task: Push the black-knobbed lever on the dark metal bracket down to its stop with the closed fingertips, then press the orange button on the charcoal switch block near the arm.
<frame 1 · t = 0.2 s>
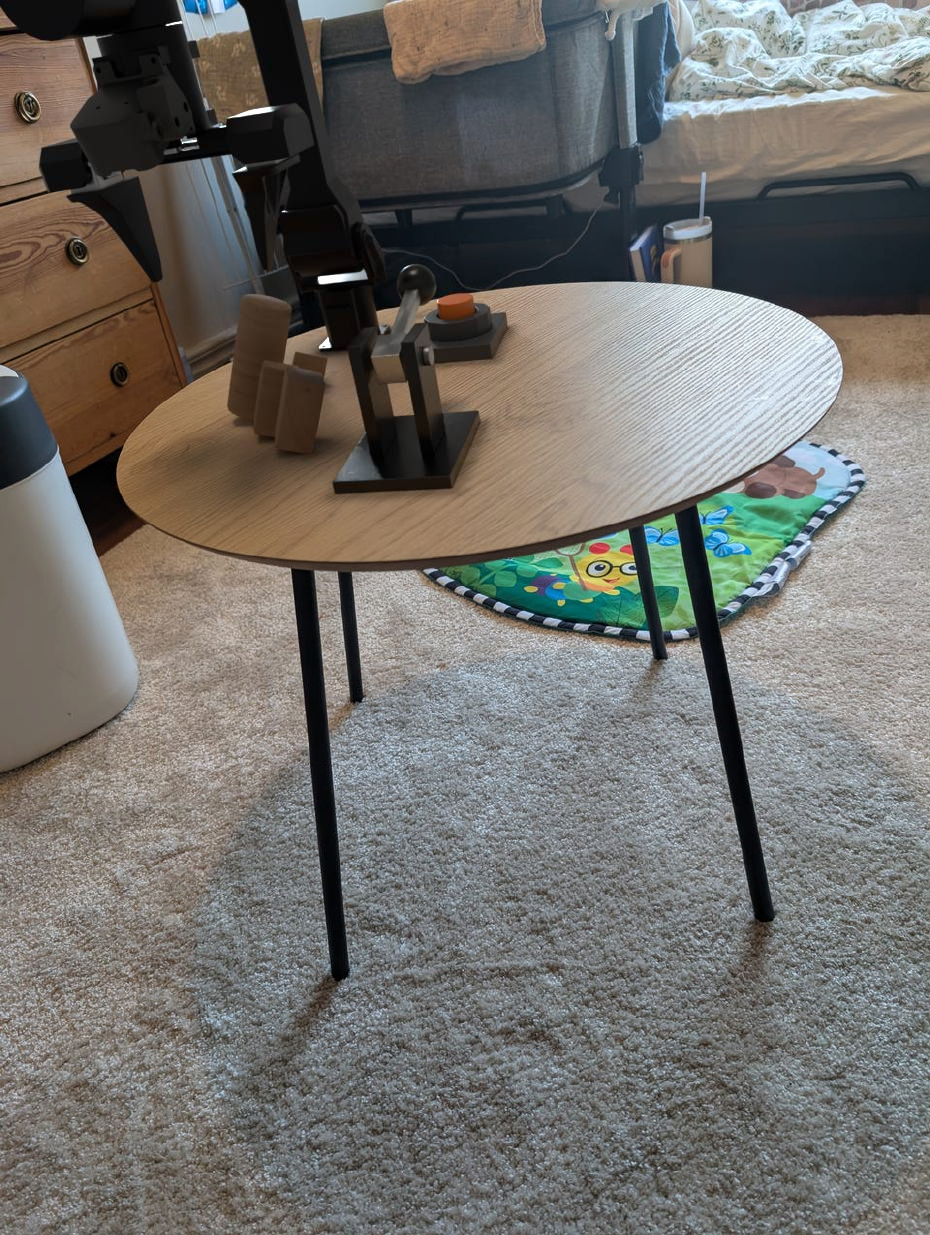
hand: (212, 275, 68), 15 cm above the table, tool pointing down, fingers open, 9 cm apart
button: (456, 307, 89), point 4 cm above the table, slide at 0.1 cm
bracket: (411, 458, 70), on the table
wooden block set: (287, 424, 81), on the table
lever: (405, 319, 69), point 9 cm above the table, hinge at 15.0°
switch block: (462, 347, 91), on the table
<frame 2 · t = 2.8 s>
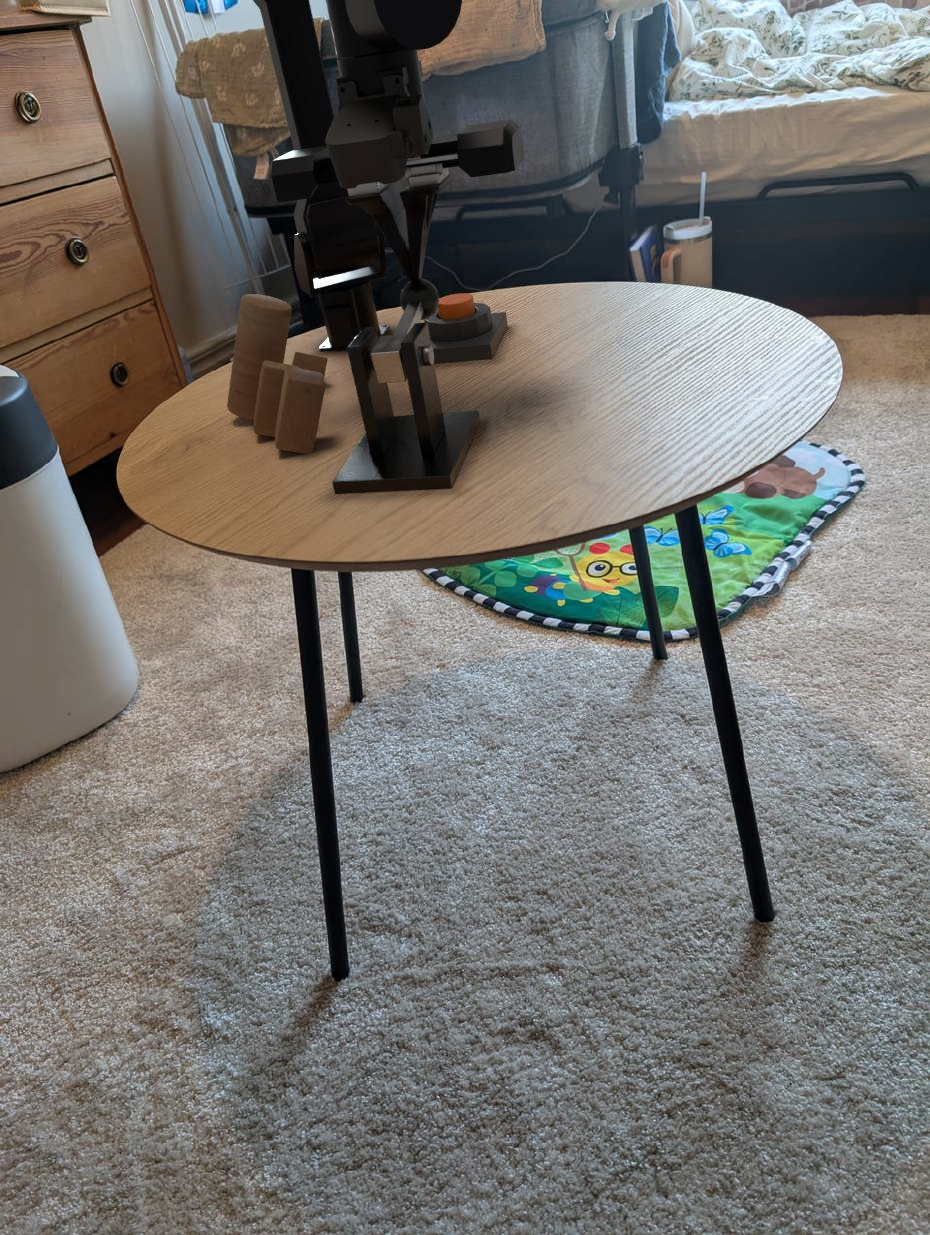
hand: (415, 279, 72), 11 cm above the table, tool pointing down, fingers closed
lever: (406, 327, 70), point 9 cm above the table, hinge at 8.1°, touching gripper
everything else where it was.
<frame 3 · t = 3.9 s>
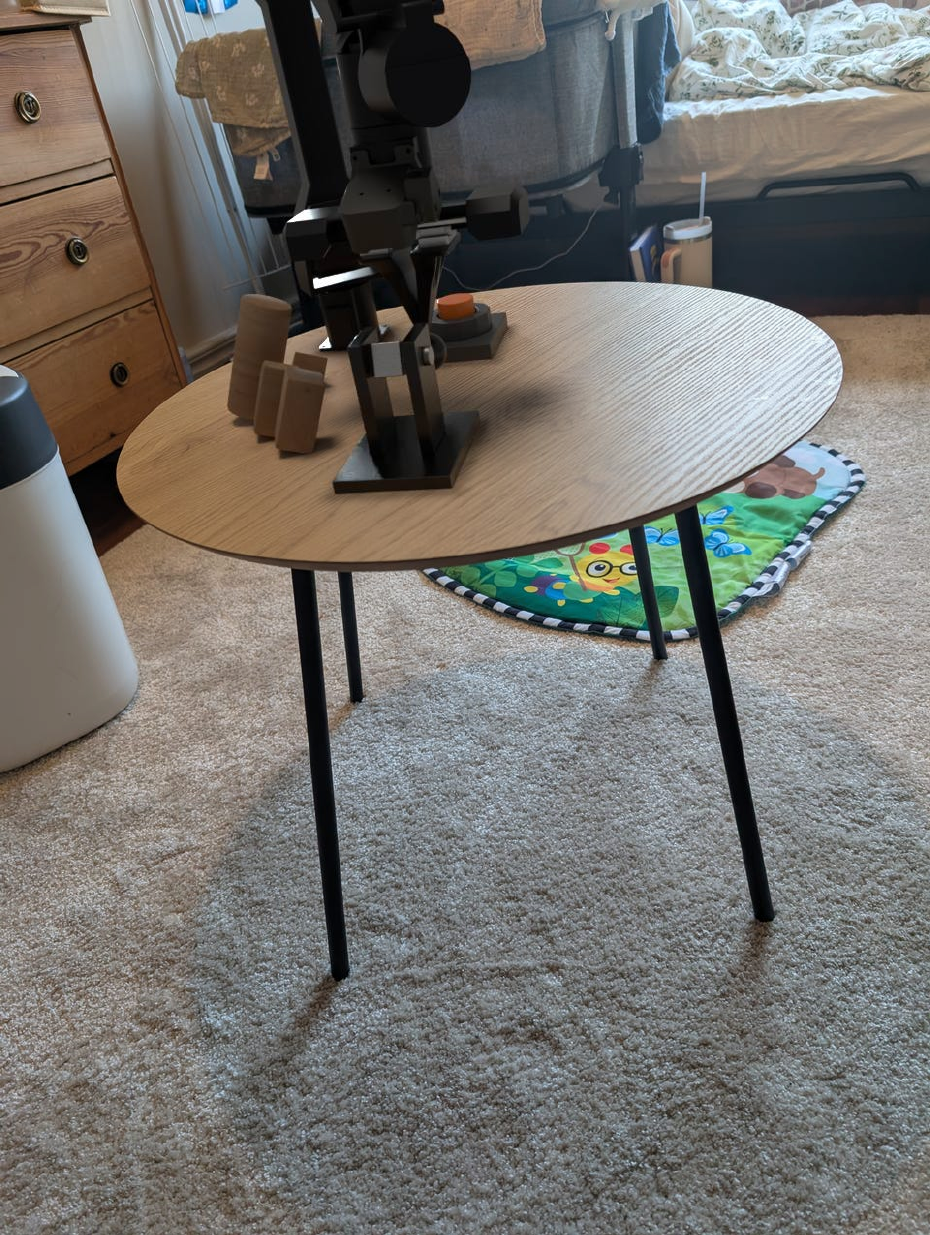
hand: (424, 333, 74), 7 cm above the table, tool pointing down, fingers closed, pressing on lever
lever: (411, 355, 71), point 7 cm above the table, hinge at -16.8°, touching gripper
everything else where it was.
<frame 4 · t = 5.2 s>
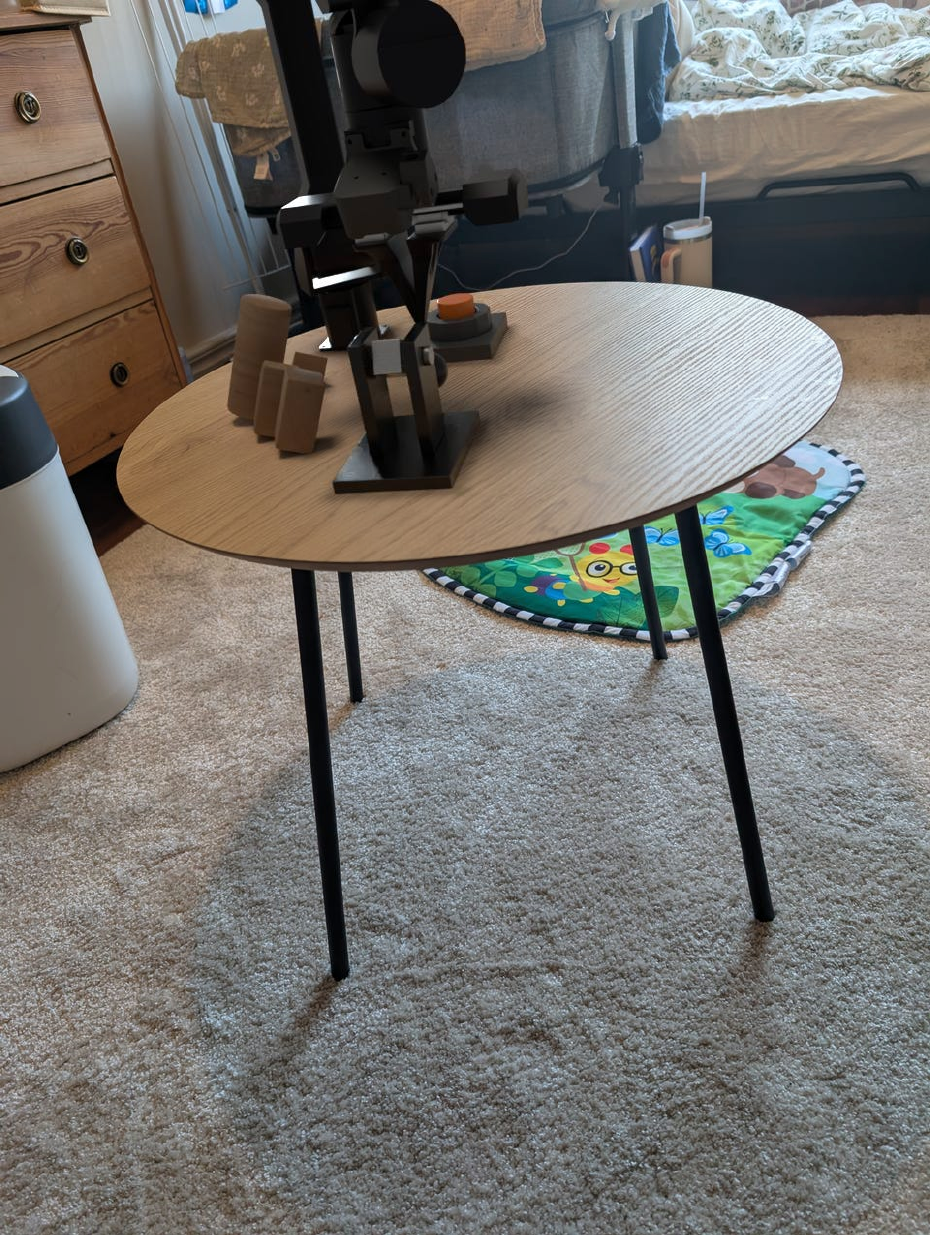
hand: (421, 322, 73), 8 cm above the table, tool pointing down, fingers closed
lever: (412, 365, 71), point 6 cm above the table, hinge at -25.5°
everything else where it was.
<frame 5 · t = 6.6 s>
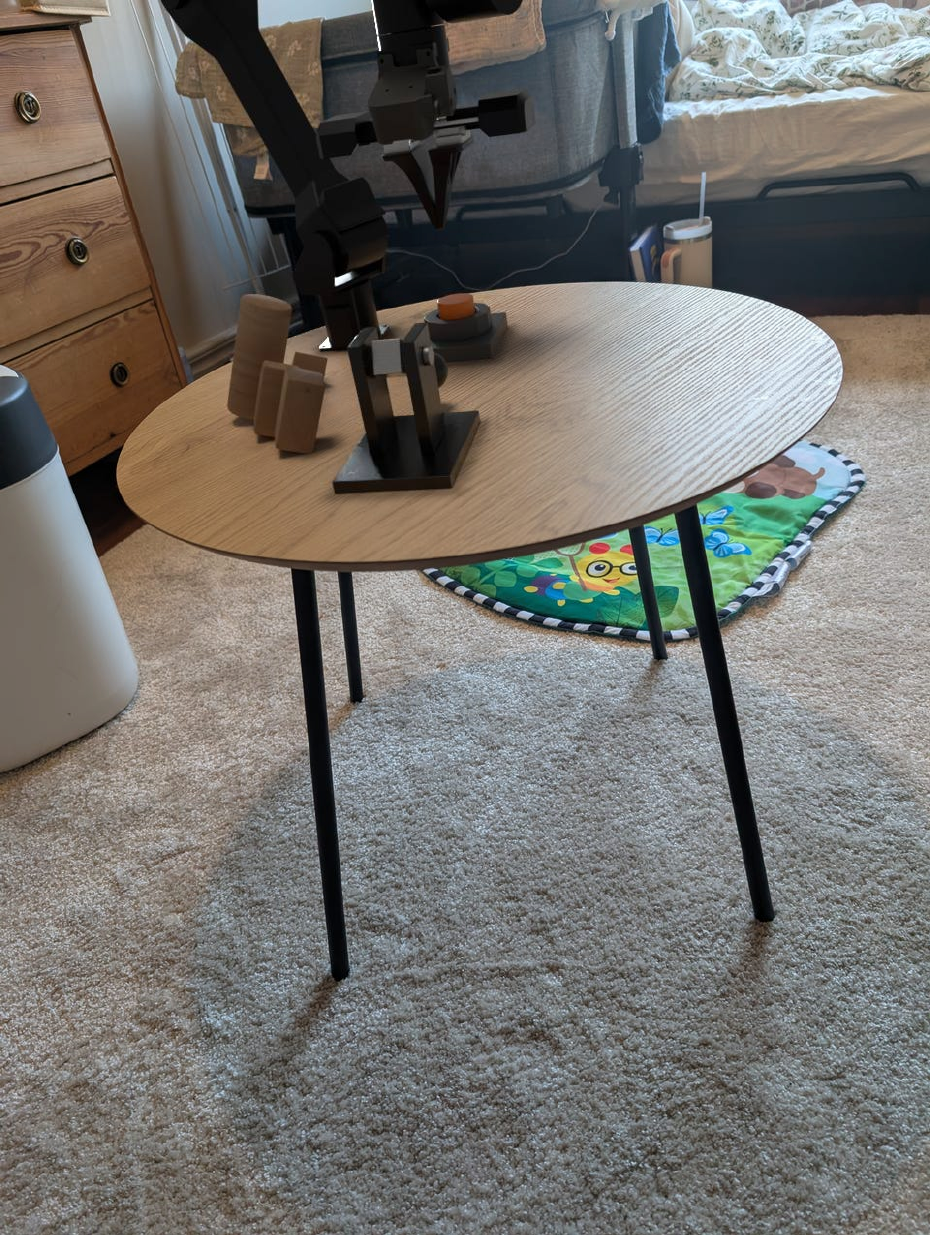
hand: (440, 228, 83), 12 cm above the table, tool pointing down, fingers closed
nothing on the table moved.
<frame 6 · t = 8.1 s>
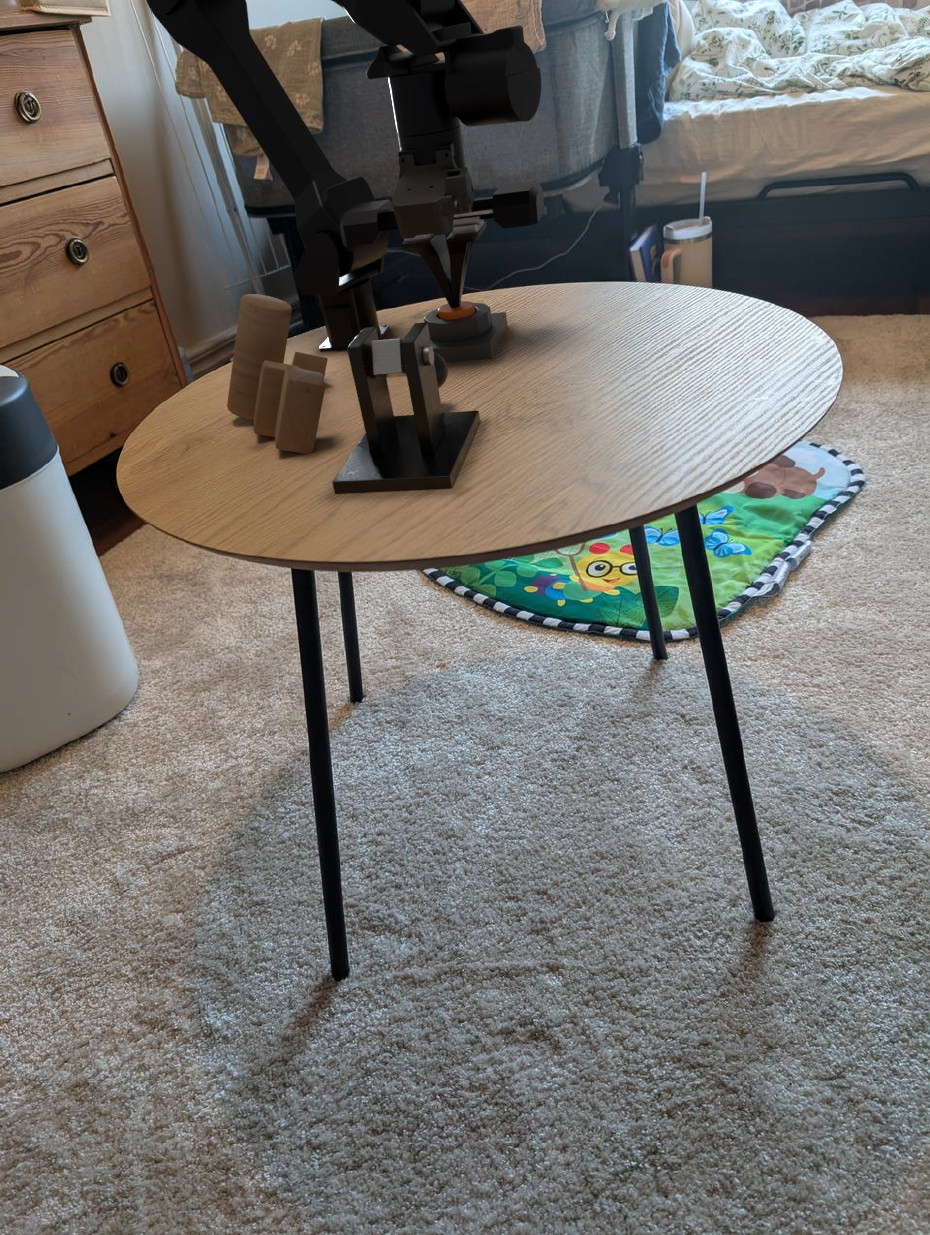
hand: (455, 306, 89), 4 cm above the table, tool pointing down, fingers closed, pressing on button
button: (457, 315, 89), point 3 cm above the table, slide at -0.7 cm, touching gripper
everything else where it was.
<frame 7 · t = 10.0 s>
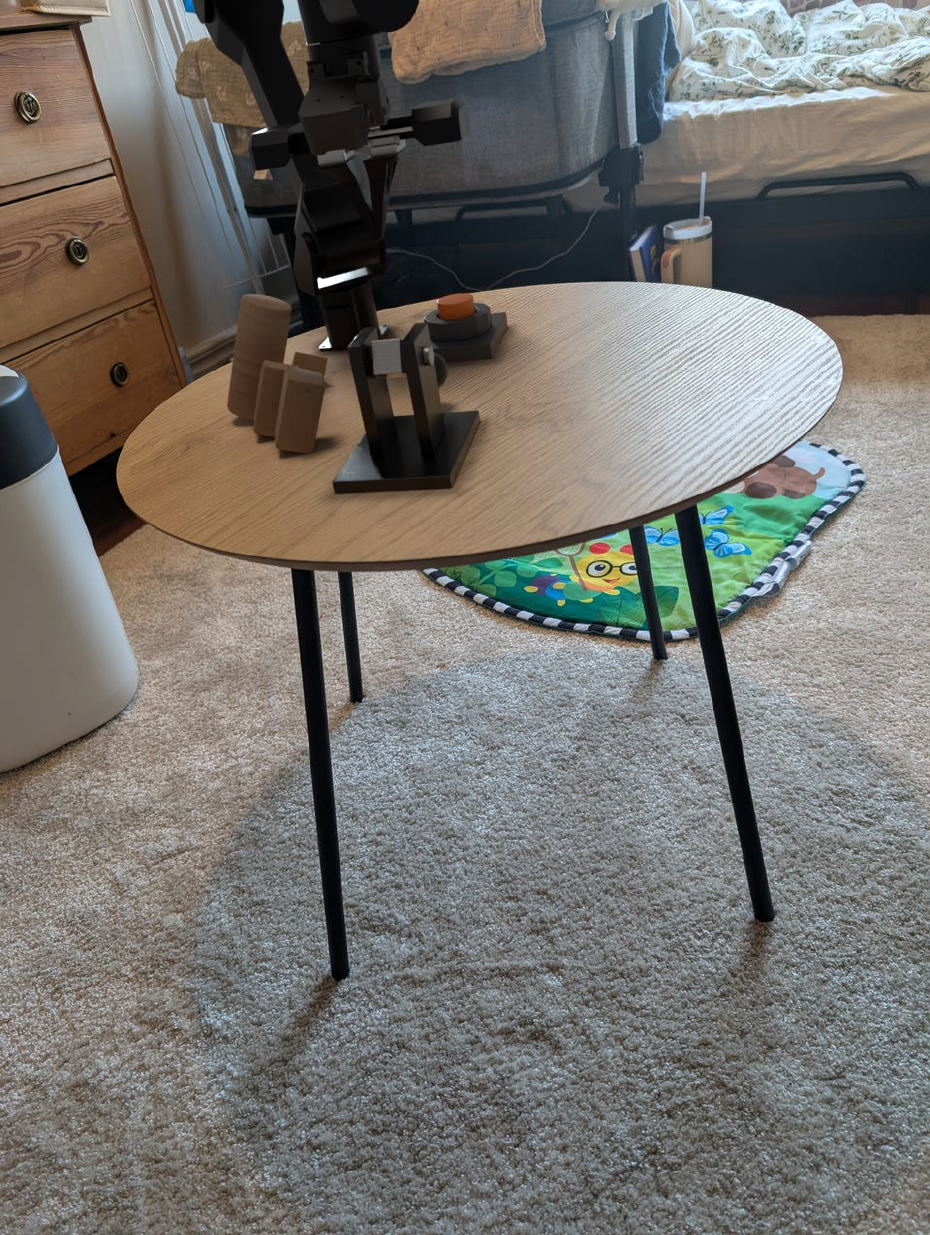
hand: (378, 239, 82), 12 cm above the table, tool pointing down, fingers closed
button: (456, 307, 89), point 4 cm above the table, slide at 0.1 cm
everything else where it was.
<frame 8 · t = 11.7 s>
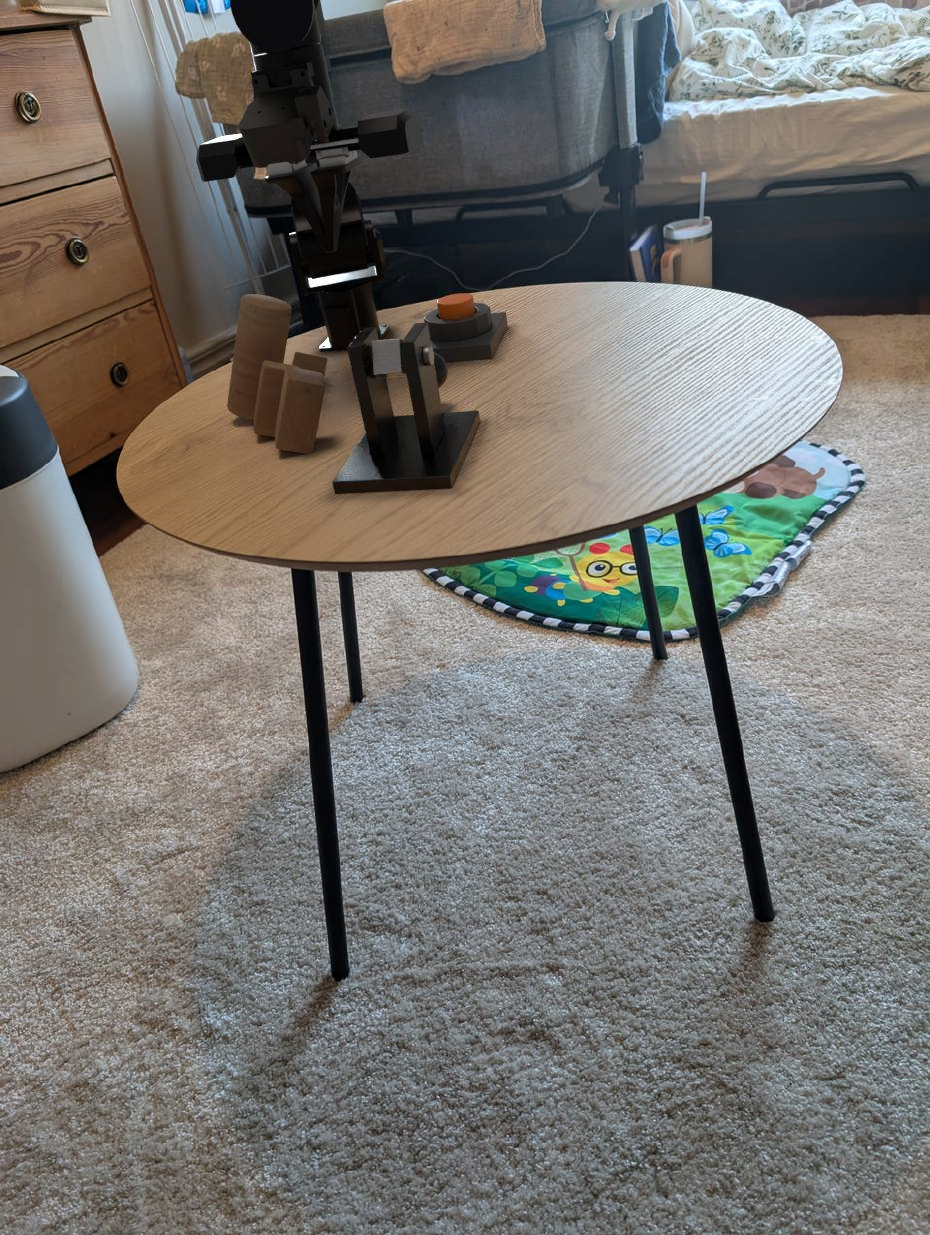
hand: (331, 251, 81), 12 cm above the table, tool pointing down, fingers closed
nothing on the table moved.
at the end: lever at -26° (first picture: +15°); button pushed in 1.2 cm at the most during the clip, back to where it started at the end; button slide at 0.1 cm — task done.
